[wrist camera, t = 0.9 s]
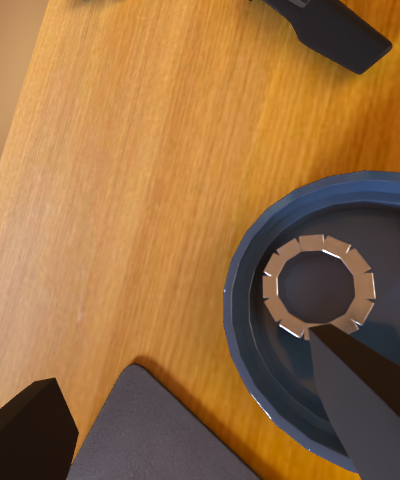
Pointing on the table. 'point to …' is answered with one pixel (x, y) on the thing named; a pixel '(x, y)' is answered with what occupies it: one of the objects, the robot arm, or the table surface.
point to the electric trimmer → (334, 32)
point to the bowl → (314, 296)
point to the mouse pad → (152, 438)
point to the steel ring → (317, 247)
